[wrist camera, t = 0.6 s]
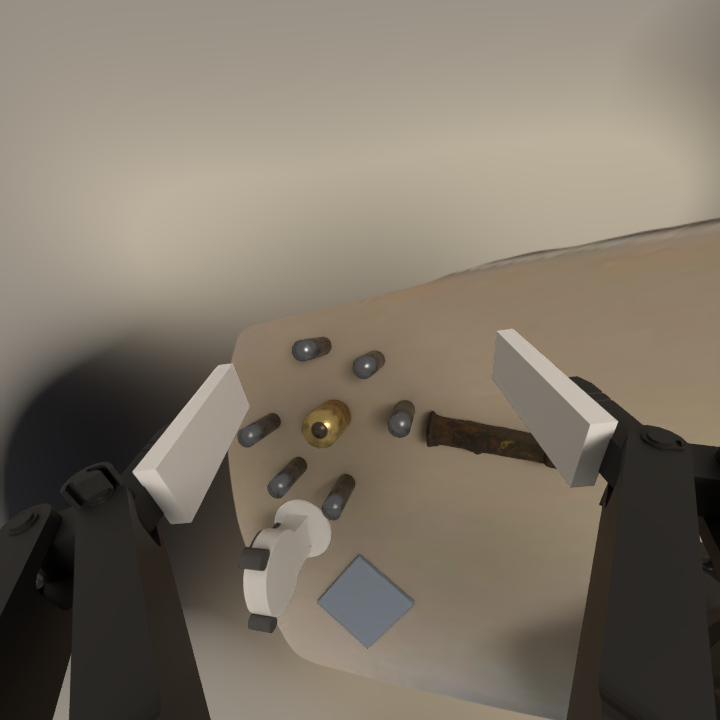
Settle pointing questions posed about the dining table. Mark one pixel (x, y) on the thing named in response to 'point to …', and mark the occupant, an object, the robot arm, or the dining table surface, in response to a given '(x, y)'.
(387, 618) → the slate board
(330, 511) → the spacer posts
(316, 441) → the gold metal cylinder
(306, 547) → the panda figurine
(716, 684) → the robot arm
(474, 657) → the dining table surface
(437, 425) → the hand tool
